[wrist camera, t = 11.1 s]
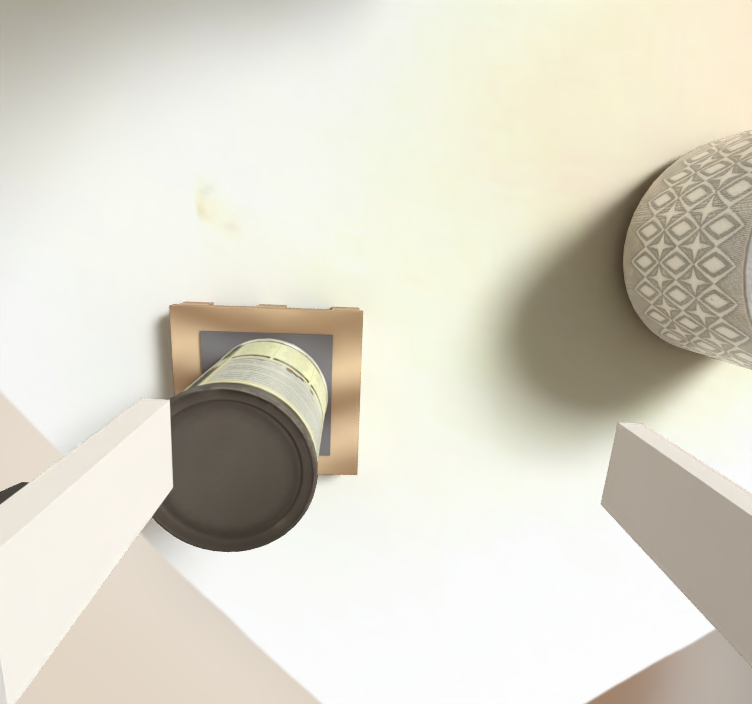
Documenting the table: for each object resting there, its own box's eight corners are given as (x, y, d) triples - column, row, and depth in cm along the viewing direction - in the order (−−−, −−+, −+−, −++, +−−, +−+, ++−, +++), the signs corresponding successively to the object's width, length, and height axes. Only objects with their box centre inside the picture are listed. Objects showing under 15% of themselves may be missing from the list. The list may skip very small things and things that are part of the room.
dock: (182, 301, 41) (167, 306, 37) (362, 307, 42) (363, 312, 38) (190, 457, 44) (177, 473, 41) (356, 460, 45) (357, 476, 42)
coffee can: (322, 456, 41) (307, 560, 27) (206, 444, 40) (129, 545, 26) (335, 344, 39) (326, 396, 25) (212, 329, 38) (133, 375, 24)
